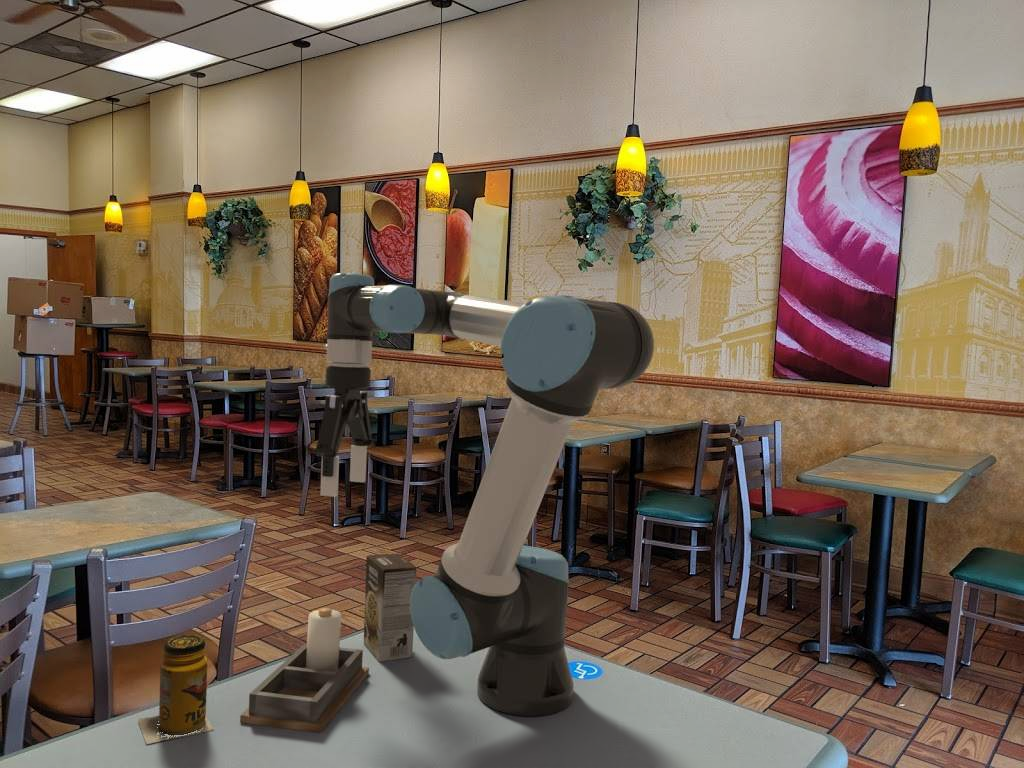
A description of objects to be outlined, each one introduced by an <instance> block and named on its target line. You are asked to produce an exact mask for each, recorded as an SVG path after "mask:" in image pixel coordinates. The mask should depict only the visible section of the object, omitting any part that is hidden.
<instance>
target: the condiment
mask: <svg viewBox="0 0 1024 768" xmlns="http://www.w3.org/2000/svg"><path fill="white" fill-rule="evenodd" d="M205 647H206V642H205V639H204V637H203V636H199V635H197V634H196V635H193V634H184V635H183V634H182V635H177V636H174V637H171V638H169V639H167V641H166V642H164V645H163V651H164V652H163V655H162V656H163V659H162V660H161V663H160V667H159V708H158V710H159V711H158V713H159V714H158V715H156V716H150V717H148V716H147V717H142V718H138V719H137V720H138V725H139V727H140V731H141V734H142V736H143V739H144V741H145V744H146V745H150V744H153V743H159V742H161V741H167V740H171V739H177V738H180V737H179V736H178V737H176V736H175V737H174V735H184V734H187V735H185V736H183V737H188V736H193V735H197V734H201V733H206V732H210V731H212V730H214V728H213V726H212V724H211V722H210V721H209V719H208V717H207V715H206V714H207V713H206V712H207V690H208V689H207V687H208V686H207V684H208V683H207V681H208V658H207V656H206V655H205V654H206V649H205ZM158 721H159V722H158ZM157 724H160V725H157ZM157 727H158V728H157ZM202 728H203V729H202ZM196 730H197V732H198V731H200V730H201V731H202V732H201V731H200V732H198V733H196V732H195V733H196V734H195V733H194V734H192V733H191V732H194V731H196ZM158 732H159V733H160V732H161V733H162V732H163V733H162V735H164V734H168V735H171V736H172V735H173V737H171V736H170V737H171V738H170V737H169V739H167V738H168V737H167V736H166V737H162V738H161V734H159V735H157V733H158ZM188 733H191V734H189V735H188ZM157 736H158V737H157ZM183 737H182V738H183Z"/></svg>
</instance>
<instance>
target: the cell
mask: <svg viewBox="0 0 1024 768" xmlns="http://www.w3.org/2000/svg"><path fill="white" fill-rule="evenodd" d="M307 619H308V621H307V639H306V644H307V653H306V668H307V669H316V670H325V671H333V672H337V671H338V662H339V647H340V643H341V626H342V625H341V623H342V613H341V612H340V611H338V610H333V609H332V608H329V607H321V608H318V609H316V610H313V611H310V613H309V614H308V618H307Z"/></svg>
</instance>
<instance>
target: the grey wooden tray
mask: <svg viewBox="0 0 1024 768" xmlns="http://www.w3.org/2000/svg"><path fill="white" fill-rule="evenodd" d="M363 651H364V649H358V648H357V649H356V648H348V647H340V646H339V662H338V671H337V672H333V671H325V670H316V669H307V668H306V653H307V643H303V644H302V645H301V646H300V647H299V648H298V649H297V650H296V651H294V652H293V654H291V655H290V656H289V657H288V658H287V659H286V660H284V662H283V663H281V664H280V665H279V666H278V667H277V668H276V669H275V670H274V671H272V672H271V673H270V674H269V675H268V676H267V677H266V678H265V679H264V680H263V681H262V682H261V683H260V684H259V685H258V686H256V687H255V688H253V690H251V692H250V693H249V695H248V696H249V697H248V698H249V699H248V707H247V708H246V709H245V710H244V711H243V712H242V713H241V714H240V715H239V716H240V717H239V718H240V719H239V722H240V723H244V724H250V725H251V724H252V725H259V726H265V727H276V728H281V727H282V729H289V728H290V729H291V730H299V731H305V732H314V733H321V734H322V732H323V731H324V730H325V729H326V728H327V726H328V725H329V724H330V722H331V721H332V720H333V718H334V717H335V716H336V715H337V713H338V712H339V711H340V710H341V708H343V706H344V705H345V704H346V702H347V701H348V700H349V699H350V698H351V696H353V693H355V691H356V690H357V689H358V688H359V686H360V685H361V684H362V683H363V681H364V680H365V678H367V676H368V675H369V672H370V671H369V670H370V667H368V666H363V655H364V654H363Z"/></svg>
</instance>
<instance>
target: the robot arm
mask: <svg viewBox="0 0 1024 768" xmlns="http://www.w3.org/2000/svg"><path fill="white" fill-rule="evenodd" d="M374 279H375V278H374V277H373V276H371V275H369V274H368V275H367V274H363V273H362V274H361V273H341V272H339V273H334V274H332V276H331V277H330V279H329V289H328V294H327V331H326V332H327V340H326V341H327V343H326V344H325V345H324V349H325V350H326V362H327V363H329V365H327V367H325V383H324V384H325V387H327V388H328V389H333V390H334V393H333V395H330V394H327V395H326V396H325V403H324V411H323V415H322V421H321V424H320V430H319V434H318V438H317V444H316V448H315V456H316V457H321V462H320V463H321V466H320V468H321V469H320V470H321V471H320V494H319V495H320V496H322V497H332V498H333V497H335V498H337V497H338V496H339V474H340V473H339V470H340V468H339V467H340V456H339V455H338V452H339V449H340V446H341V443H342V439H343V436H344V433H345V431H346V430H345V429H346V427H347V425H348V430H349V432H350V437H351V440H352V442H353V444H352V445H350V464H349V465H350V466H349V468H350V469H349V482H353V483H366V479H367V475H366V474H367V455H368V454H367V453H368V451H367V450H368V446H369V447H370V446H372V445H373V439H372V429H371V422H370V415H369V408H368V407H369V406H368V392H367V391H363V390H368V389H370V388H371V379H372V378H371V374H372V370H371V368H370V367H368V365H370V364H372V355H373V353H372V352H373V351H372V350H373V332H379V333H380V332H381V333H389V334H394V333H395V334H419V335H420V334H421V335H436V336H444V337H452V338H455V339H460V340H461V339H463V340H467V341H472V342H476V343H480V344H481V343H482V344H486V345H491V346H495V347H499V348H500V354H501V355H503V358H502V359H501V364H502V367H503V371H504V372H505V374H506V376H507V377H506V380H505V387H506V389H507V392H508V393H509V396H510V397H511V400H510V403H509V405H508V407H507V411H506V413H505V416H504V419H503V422H502V423H501V426H500V430H499V432H498V435H497V438H496V441H495V444H494V446H493V448H492V452H491V454H490V457H489V458H488V459H489V460H488V462H487V465H486V467H485V469H484V470H485V471H484V473H483V476H482V478H481V480H480V483H479V487H478V489H477V491H476V495H475V497H474V499H473V503H472V506H471V508H470V510H469V514H468V516H467V518H466V521H465V524H464V527H463V530H462V532H461V535H460V539H458V540H459V541H458V542H457V543H454V544H451V545H449V546H448V547H446V549H445V550H444V551H443V553H442V555H441V558H440V561H439V563H438V566H437V569H436V572H435V573H434V574H433V575H426V576H423V577H422V579H419V580H417V581H416V584H415V585H414V587H413V589H412V592H411V597H410V613H411V618H412V621H413V624H414V630H415V634H416V635H417V637H418V639H419V640H420V642H421V644H422V645H423V647H425V649H426V650H427V651H429V653H431V654H432V655H433V656H435V657H436V658H438V659H441V660H453V659H456V658H460V657H462V658H464V657H468V656H469V655H471V654H474V653H476V652H479V651H482V650H485V649H488V650H487V652H486V655H485V657H484V660H483V663H482V665H481V668H480V671H479V673H478V676H477V677H478V678H477V689H476V690H477V691H476V693H477V694H476V695H477V696H478V699H479V700H480V701H481V702H482V703H483V704H485V705H486V706H488V707H490V708H491V709H493V710H495V711H499V712H502V713H505V714H509V715H515V716H522V717H523V716H524V717H525V716H526V717H539V716H546V715H551V714H556V713H558V712H561V711H562V710H566V708H568V707H569V706H570V705H571V704H572V702H573V699H574V681H573V676H572V673H571V667H570V665H569V661H568V658H567V654H566V651H565V650H566V649H565V645H566V644H565V640H566V625H567V609H568V607H567V606H568V594H569V593H568V592H569V584H570V579H569V563H568V561H567V559H566V558H565V556H563V554H560V553H559V552H556V551H553V550H549V549H547V548H542V547H536V546H529V545H525V543H526V541H527V537H528V535H529V532H530V530H531V528H532V525H533V524H534V523H533V522H534V520H535V518H536V516H537V513H538V510H539V508H540V505H541V502H542V500H543V497H544V495H545V493H546V491H547V488H548V485H549V483H550V480H551V479H552V478H551V477H552V475H553V473H554V470H555V468H556V467H557V463H558V461H559V458H560V456H561V454H562V450H563V449H564V445H565V443H566V441H567V438H568V435H569V433H570V430H571V428H572V425H573V423H574V422H576V421H579V420H582V419H585V418H587V417H589V415H590V413H591V410H592V408H593V406H594V402H595V400H596V398H597V396H598V393H599V390H607V389H608V390H609V389H618V388H622V387H624V386H627V385H630V384H632V383H633V382H636V381H637V380H638V379H640V377H641V376H643V374H644V373H645V372H646V371H647V369H648V368H649V366H650V364H651V361H652V359H653V356H654V350H655V340H654V339H655V338H654V335H653V332H652V329H651V326H650V324H649V322H648V321H647V320H646V318H645V317H644V316H643V314H641V313H640V312H639V311H638V310H636V309H635V308H633V307H631V306H630V305H627V304H624V303H620V302H614V301H605V300H603V301H602V300H596V299H595V300H594V299H586V298H579V297H574V296H571V295H567V294H566V295H565V294H563V295H562V294H561V295H551V296H550V295H546V296H544V295H543V296H538V297H535V298H533V299H531V300H529V301H527V302H520V301H512V300H506V299H500V298H494V297H493V298H492V297H486V296H478V295H472V294H468V293H465V292H460V291H459V292H458V291H445V290H444V291H442V290H431V289H423V288H415V287H411V286H409V285H403V284H395V283H392V284H390V283H389V284H388V285H387V284H386V285H375V280H374Z"/></svg>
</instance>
